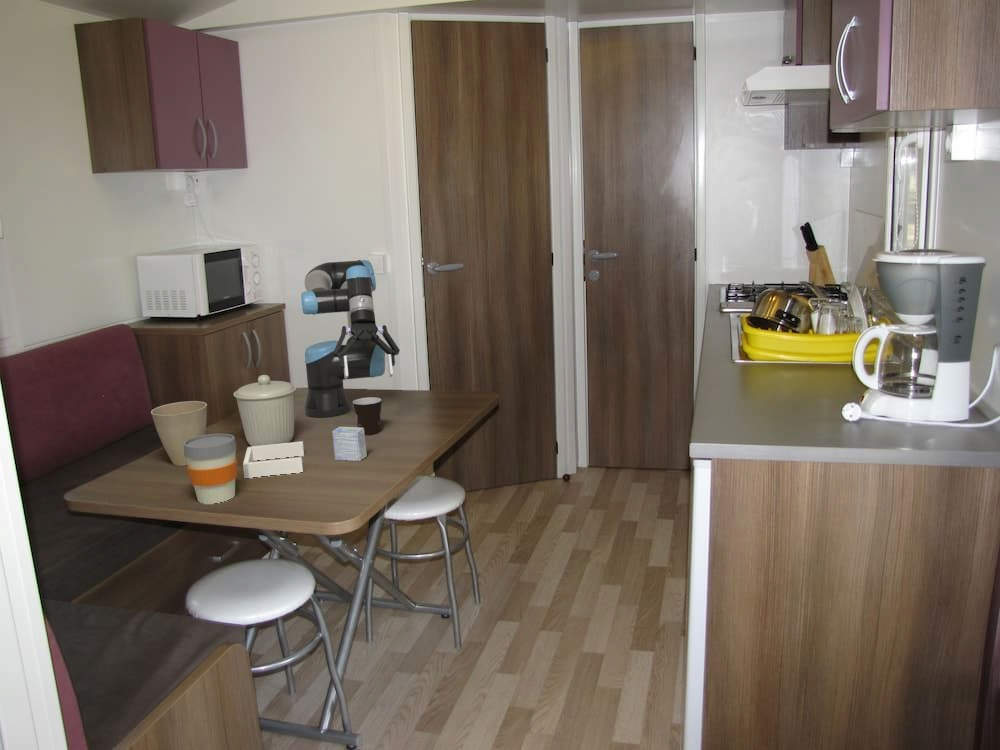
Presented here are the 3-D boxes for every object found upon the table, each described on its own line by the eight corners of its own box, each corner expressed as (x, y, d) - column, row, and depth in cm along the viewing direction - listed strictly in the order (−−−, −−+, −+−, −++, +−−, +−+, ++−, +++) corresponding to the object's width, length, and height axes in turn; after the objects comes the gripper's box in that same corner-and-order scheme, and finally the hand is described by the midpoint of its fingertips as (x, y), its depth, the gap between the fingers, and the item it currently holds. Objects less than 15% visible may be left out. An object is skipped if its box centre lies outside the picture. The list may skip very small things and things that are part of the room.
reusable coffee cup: (179, 504, 224) (171, 446, 221) (212, 487, 236) (205, 431, 232) (221, 509, 220) (213, 449, 216) (252, 491, 231) (246, 434, 228)
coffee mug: (378, 436, 273) (375, 404, 271) (351, 436, 275) (348, 404, 273) (390, 425, 285) (388, 394, 282) (364, 425, 286) (361, 394, 284)
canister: (313, 441, 272) (307, 372, 267) (261, 456, 259) (253, 385, 255) (279, 431, 284) (272, 365, 280) (228, 446, 272) (219, 377, 267)
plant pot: (194, 450, 268) (187, 398, 265) (224, 459, 259) (217, 404, 256) (148, 464, 257) (140, 410, 254) (177, 473, 248) (169, 417, 244)
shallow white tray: (249, 460, 257) (247, 446, 256) (304, 454, 259) (302, 441, 258) (244, 478, 241) (242, 464, 240) (302, 472, 244) (301, 458, 243)
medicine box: (367, 457, 254) (364, 427, 253) (359, 462, 250) (357, 431, 248) (342, 455, 257) (339, 426, 255) (334, 460, 253) (331, 430, 251)
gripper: (322, 308, 276) (328, 373, 269) (403, 307, 283) (411, 370, 276) (320, 318, 282) (326, 382, 275) (399, 317, 290) (407, 379, 283)
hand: (369, 376), depth 276 cm, fingers open, 13 cm apart
